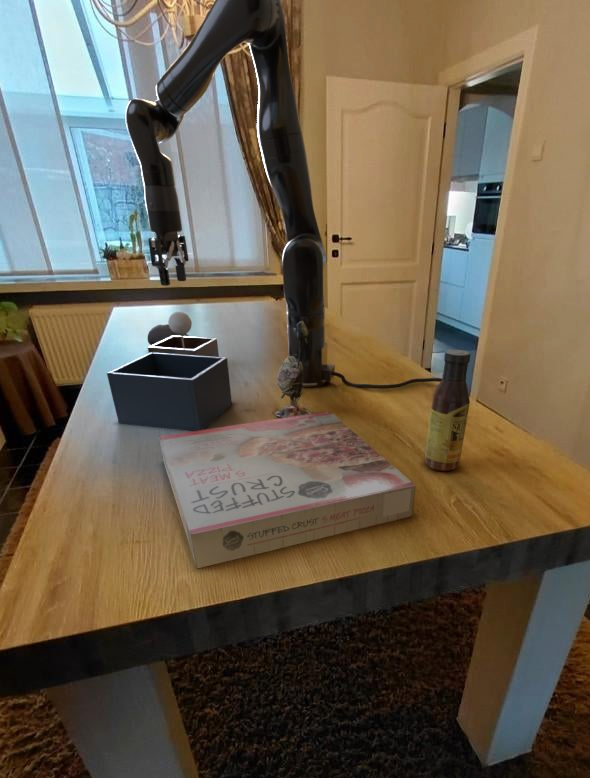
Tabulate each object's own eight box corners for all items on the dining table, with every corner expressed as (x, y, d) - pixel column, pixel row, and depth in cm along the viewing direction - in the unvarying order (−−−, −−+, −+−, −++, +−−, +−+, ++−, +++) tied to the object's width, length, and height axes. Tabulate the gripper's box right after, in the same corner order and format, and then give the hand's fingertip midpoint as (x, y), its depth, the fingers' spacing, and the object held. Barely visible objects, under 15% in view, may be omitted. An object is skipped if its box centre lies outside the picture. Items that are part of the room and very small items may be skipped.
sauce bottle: (451, 476, 85) (469, 360, 74) (418, 467, 88) (430, 353, 77) (464, 462, 90) (483, 350, 79) (432, 453, 92) (446, 345, 82)
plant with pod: (305, 404, 114) (303, 313, 103) (316, 422, 105) (315, 324, 94) (270, 407, 112) (264, 314, 102) (278, 426, 103) (273, 326, 92)
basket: (219, 363, 142) (216, 338, 138) (198, 377, 131) (195, 350, 127) (176, 360, 145) (172, 335, 141) (152, 373, 133) (147, 347, 130)
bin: (232, 403, 114) (227, 357, 108) (200, 431, 100) (192, 380, 95) (159, 397, 117) (150, 352, 112) (118, 423, 104) (106, 373, 98)
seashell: (148, 362, 151) (142, 336, 146) (153, 340, 166) (148, 315, 161) (196, 359, 154) (191, 333, 149) (196, 337, 168) (192, 313, 163)
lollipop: (202, 367, 139) (194, 310, 130) (187, 372, 134) (177, 314, 126) (187, 363, 141) (178, 308, 133) (171, 369, 137) (161, 311, 129)
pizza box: (329, 411, 96) (415, 485, 71) (329, 436, 99) (412, 516, 74) (158, 436, 85) (190, 534, 60) (164, 464, 88) (196, 568, 63)
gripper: (162, 209, 111) (174, 287, 120) (191, 208, 123) (200, 280, 131) (132, 209, 112) (146, 286, 121) (163, 208, 124) (174, 279, 133)
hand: (174, 283), depth 126 cm, fingers open, 8 cm apart
